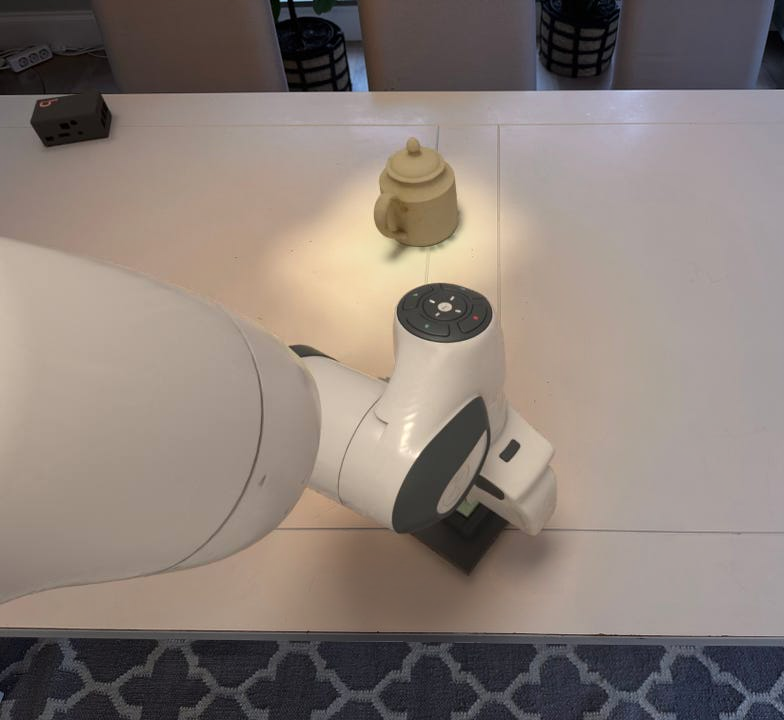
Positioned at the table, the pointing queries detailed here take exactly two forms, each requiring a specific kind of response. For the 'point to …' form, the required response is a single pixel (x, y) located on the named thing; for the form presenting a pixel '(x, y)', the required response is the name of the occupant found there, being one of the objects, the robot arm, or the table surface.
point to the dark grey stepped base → (463, 537)
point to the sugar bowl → (417, 197)
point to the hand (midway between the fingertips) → (465, 492)
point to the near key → (467, 509)
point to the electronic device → (71, 118)
